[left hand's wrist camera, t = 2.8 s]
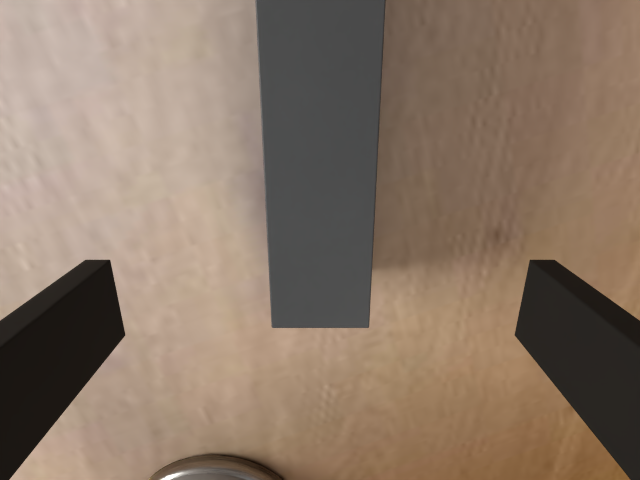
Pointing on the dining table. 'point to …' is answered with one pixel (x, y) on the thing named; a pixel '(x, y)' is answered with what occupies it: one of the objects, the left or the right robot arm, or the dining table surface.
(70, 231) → the dining table surface
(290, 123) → the post
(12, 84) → the dining table surface
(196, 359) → the dining table surface
